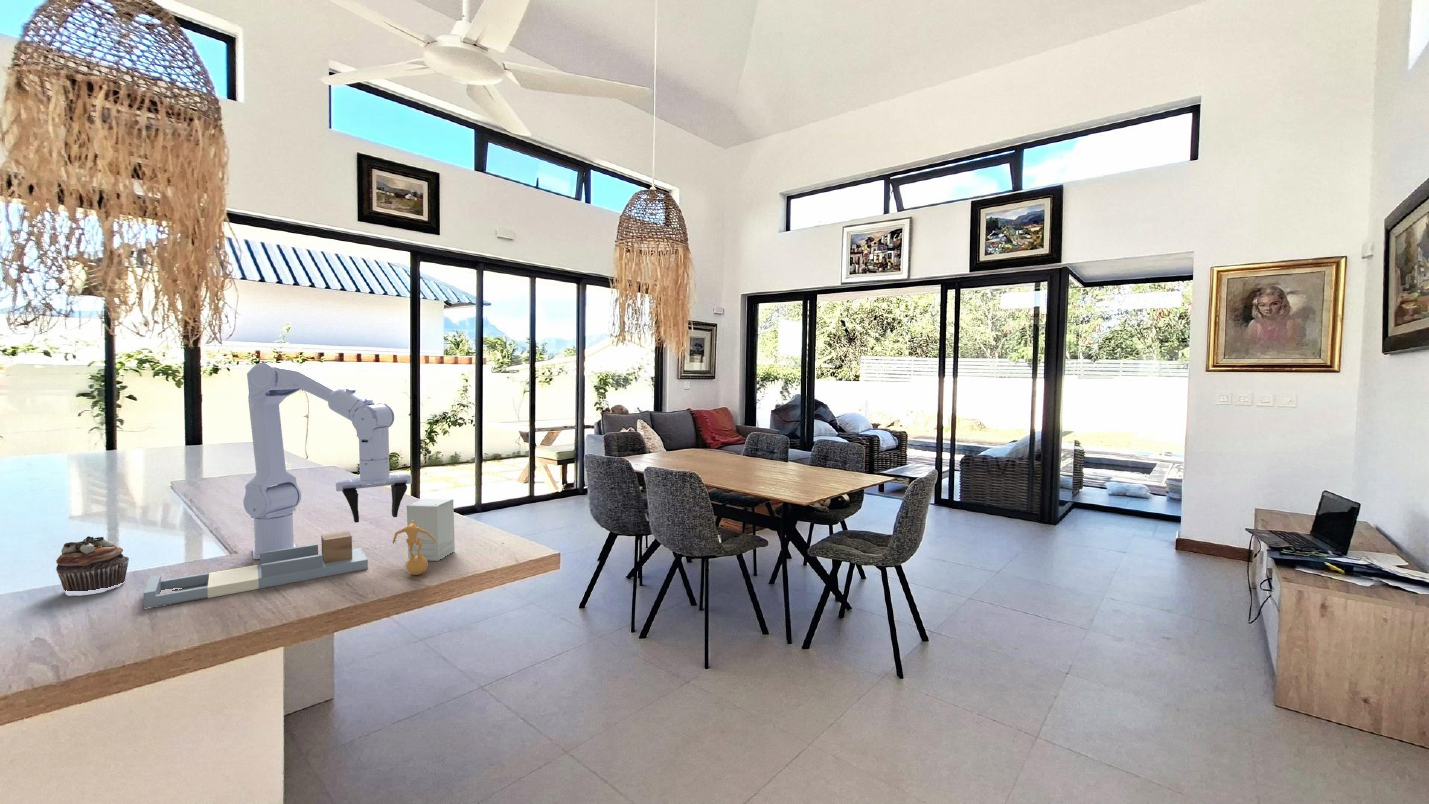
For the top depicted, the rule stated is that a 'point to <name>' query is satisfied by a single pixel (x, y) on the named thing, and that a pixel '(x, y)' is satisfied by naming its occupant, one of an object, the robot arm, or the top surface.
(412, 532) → the figurine
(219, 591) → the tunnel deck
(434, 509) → the supplement box
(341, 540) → the block
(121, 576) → the cupcake
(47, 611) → the top surface
